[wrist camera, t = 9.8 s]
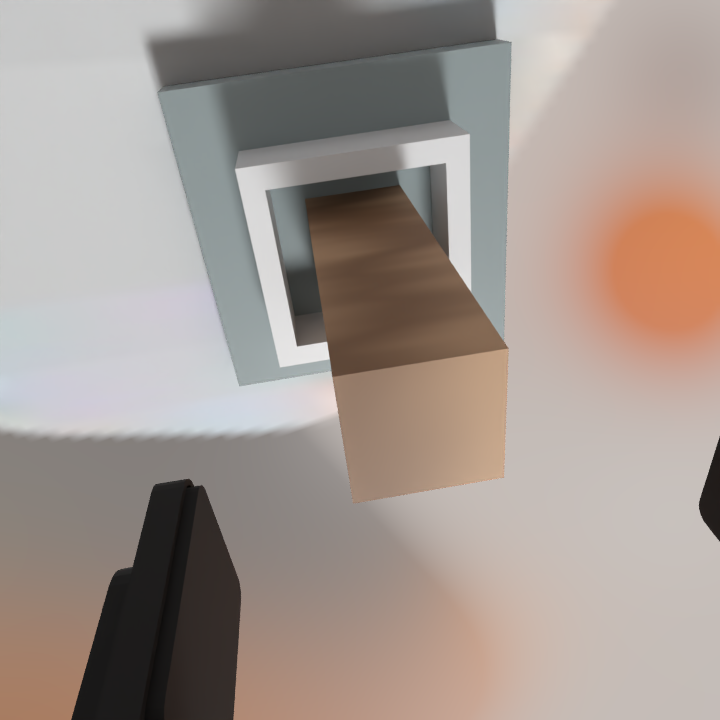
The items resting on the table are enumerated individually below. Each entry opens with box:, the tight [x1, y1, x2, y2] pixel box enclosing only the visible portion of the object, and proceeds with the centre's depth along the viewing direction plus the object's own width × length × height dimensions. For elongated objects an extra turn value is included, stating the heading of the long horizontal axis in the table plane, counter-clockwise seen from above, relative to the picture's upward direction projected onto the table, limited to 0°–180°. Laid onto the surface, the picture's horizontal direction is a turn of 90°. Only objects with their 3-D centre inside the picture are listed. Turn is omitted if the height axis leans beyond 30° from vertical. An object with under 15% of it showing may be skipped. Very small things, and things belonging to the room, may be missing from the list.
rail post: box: [305, 185, 508, 503], centre depth 18 cm, size 4×4×12 cm
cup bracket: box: [158, 39, 511, 386], centre depth 22 cm, size 12×12×4 cm
